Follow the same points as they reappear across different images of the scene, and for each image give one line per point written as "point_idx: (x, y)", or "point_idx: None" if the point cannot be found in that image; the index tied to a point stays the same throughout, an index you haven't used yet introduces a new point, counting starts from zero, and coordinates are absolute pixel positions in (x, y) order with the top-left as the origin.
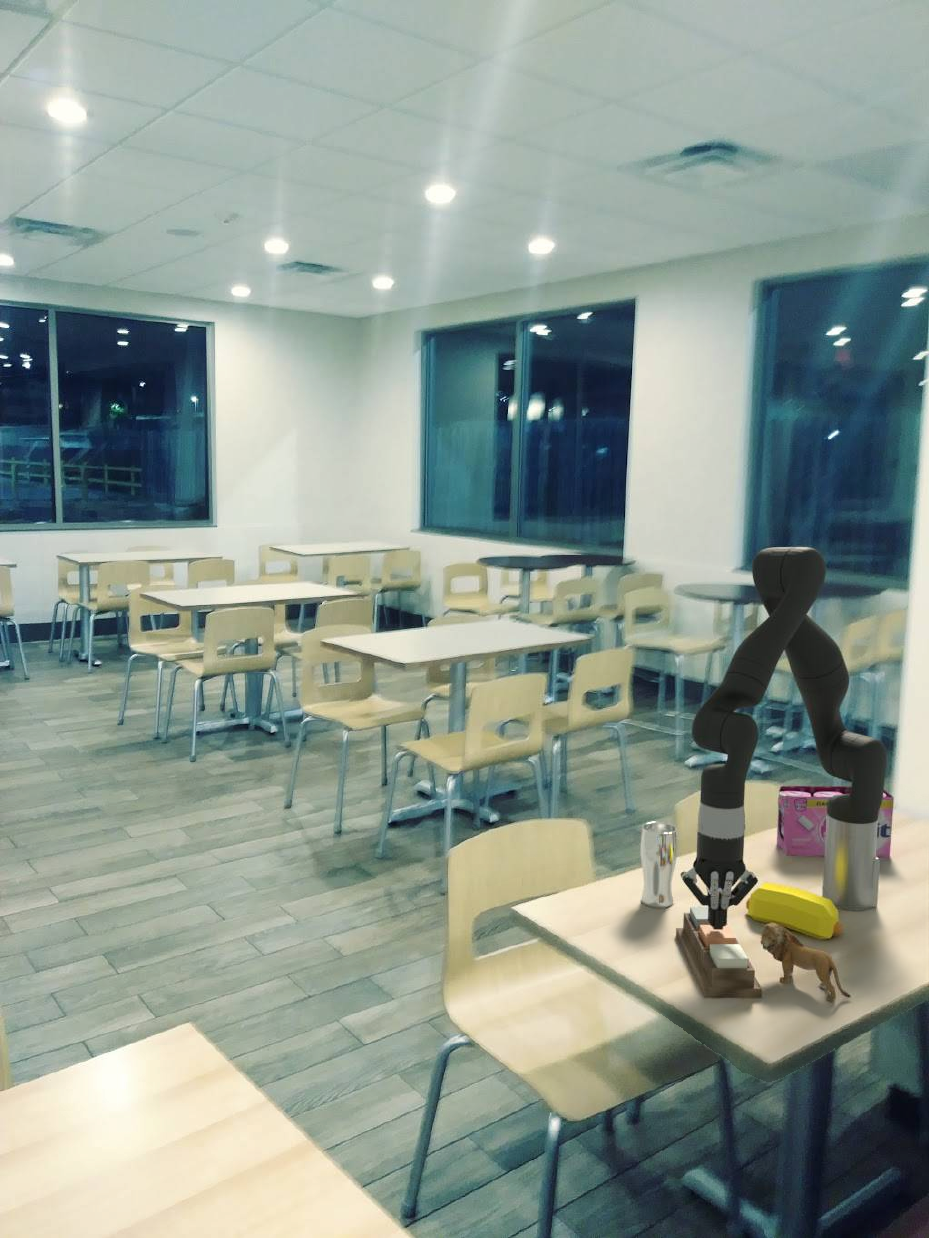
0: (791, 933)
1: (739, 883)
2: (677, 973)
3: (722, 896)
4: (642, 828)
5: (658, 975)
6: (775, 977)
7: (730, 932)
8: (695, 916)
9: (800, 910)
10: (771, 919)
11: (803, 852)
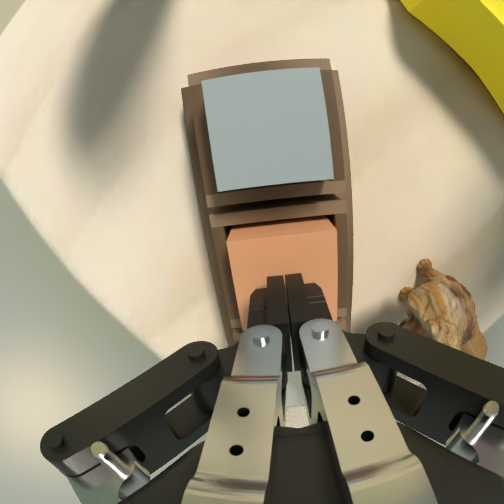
0: (473, 331)
1: (451, 395)
2: (186, 288)
3: (310, 424)
4: None
5: (149, 298)
6: (397, 281)
7: (331, 288)
8: (215, 167)
9: None
10: (449, 45)
11: None
